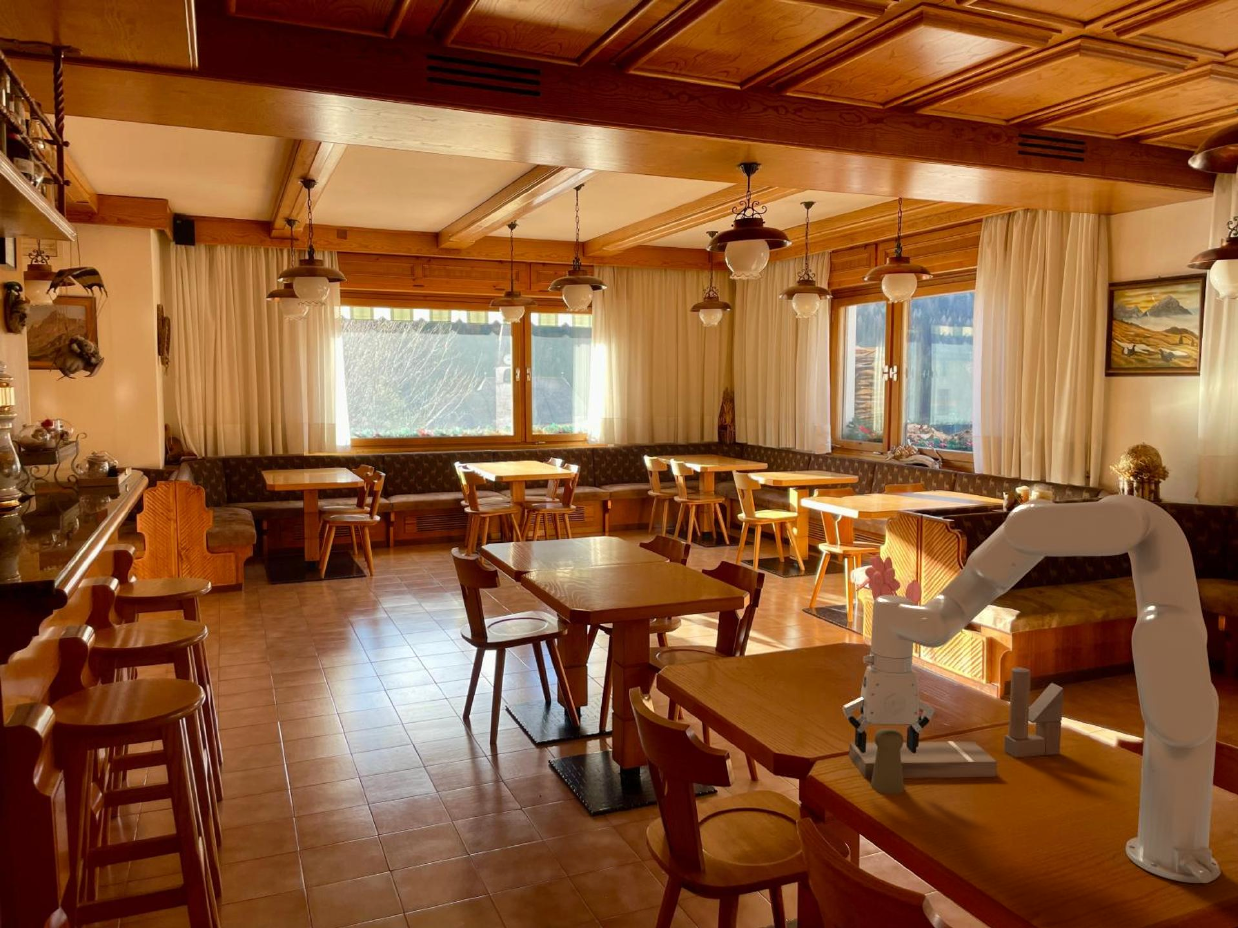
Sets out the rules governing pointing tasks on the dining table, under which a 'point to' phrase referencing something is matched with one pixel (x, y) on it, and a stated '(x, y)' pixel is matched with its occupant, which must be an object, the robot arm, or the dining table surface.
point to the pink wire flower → (887, 581)
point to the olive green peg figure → (888, 762)
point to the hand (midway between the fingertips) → (886, 750)
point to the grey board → (932, 760)
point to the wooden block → (1033, 718)
